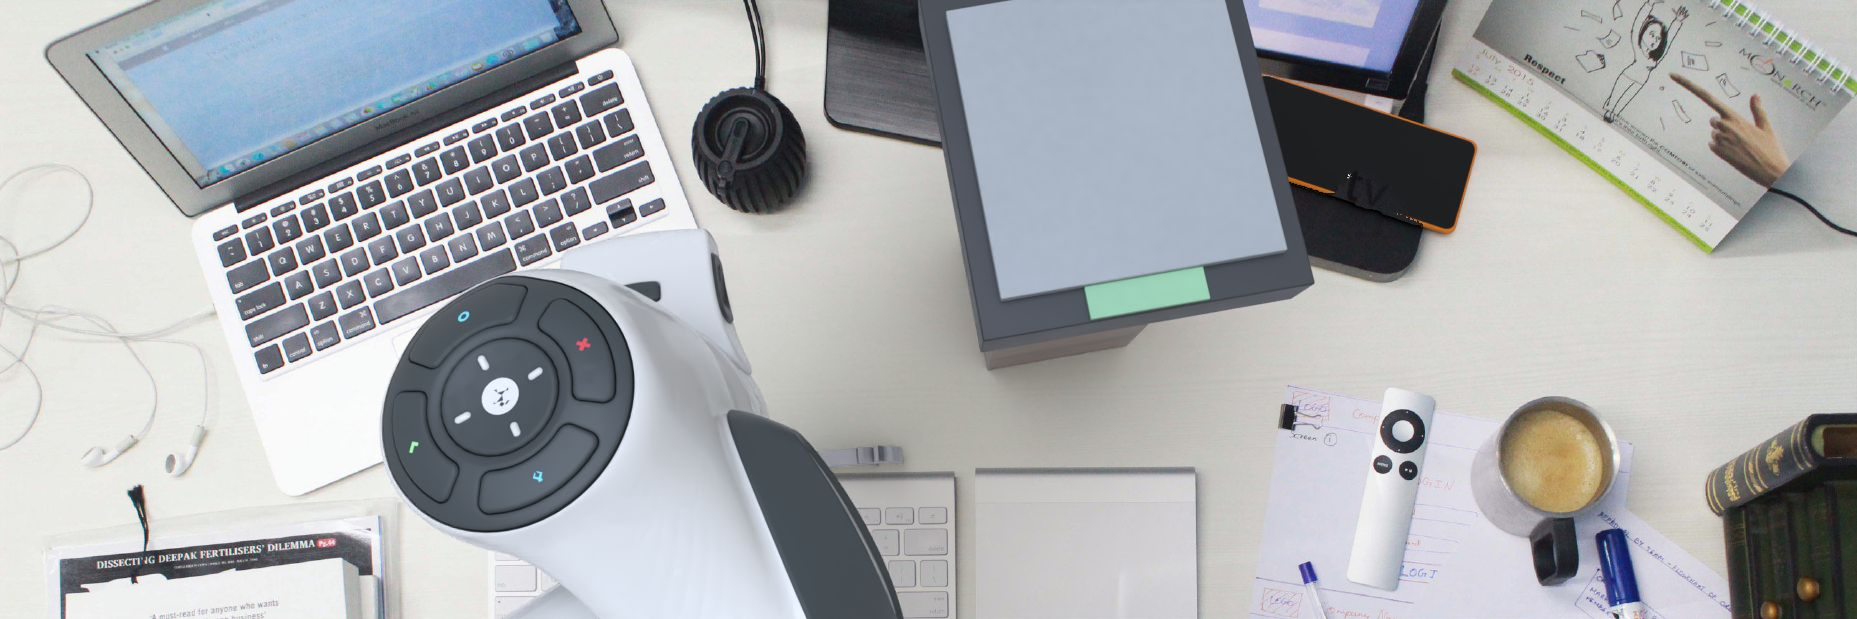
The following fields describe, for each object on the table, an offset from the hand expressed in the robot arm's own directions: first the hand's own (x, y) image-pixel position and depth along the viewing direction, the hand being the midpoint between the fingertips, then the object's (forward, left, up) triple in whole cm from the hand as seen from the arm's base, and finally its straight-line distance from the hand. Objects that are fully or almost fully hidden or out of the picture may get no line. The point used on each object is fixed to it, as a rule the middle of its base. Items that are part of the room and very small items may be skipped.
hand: (724, 455), depth 56 cm
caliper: (0, +1, -17) cm, 17 cm away
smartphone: (+15, -45, -17) cm, 50 cm away
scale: (+9, -21, +11) cm, 25 cm away
